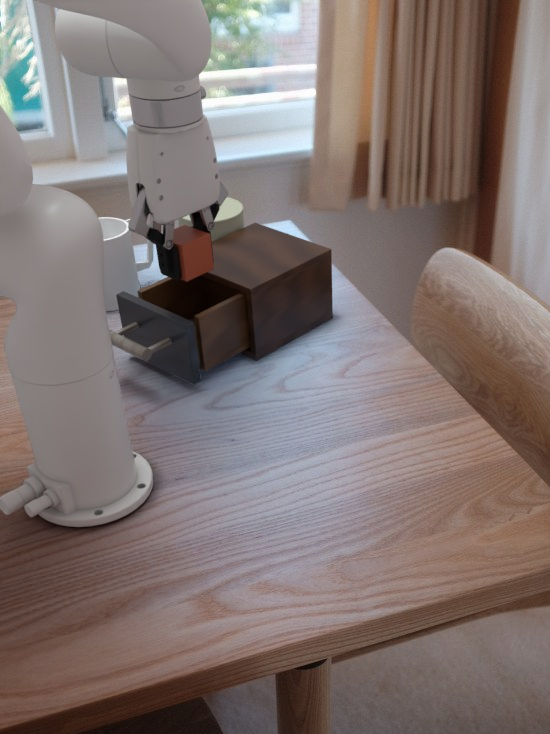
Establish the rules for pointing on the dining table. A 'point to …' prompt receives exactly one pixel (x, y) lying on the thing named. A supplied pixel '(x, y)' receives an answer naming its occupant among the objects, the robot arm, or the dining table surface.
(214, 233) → the can
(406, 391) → the dining table surface
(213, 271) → the cabinet
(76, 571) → the dining table surface
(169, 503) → the dining table surface
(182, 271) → the block
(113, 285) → the cup
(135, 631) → the dining table surface
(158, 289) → the drawer
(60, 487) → the robot arm
